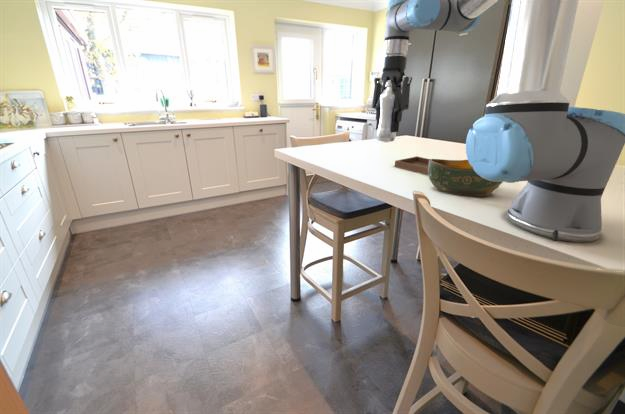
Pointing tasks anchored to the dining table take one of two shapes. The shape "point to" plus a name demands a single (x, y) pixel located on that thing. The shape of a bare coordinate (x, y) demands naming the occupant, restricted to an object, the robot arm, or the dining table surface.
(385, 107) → the plastic bottle
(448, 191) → the green patterned bowl
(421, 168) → the tray
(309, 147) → the dining table surface
